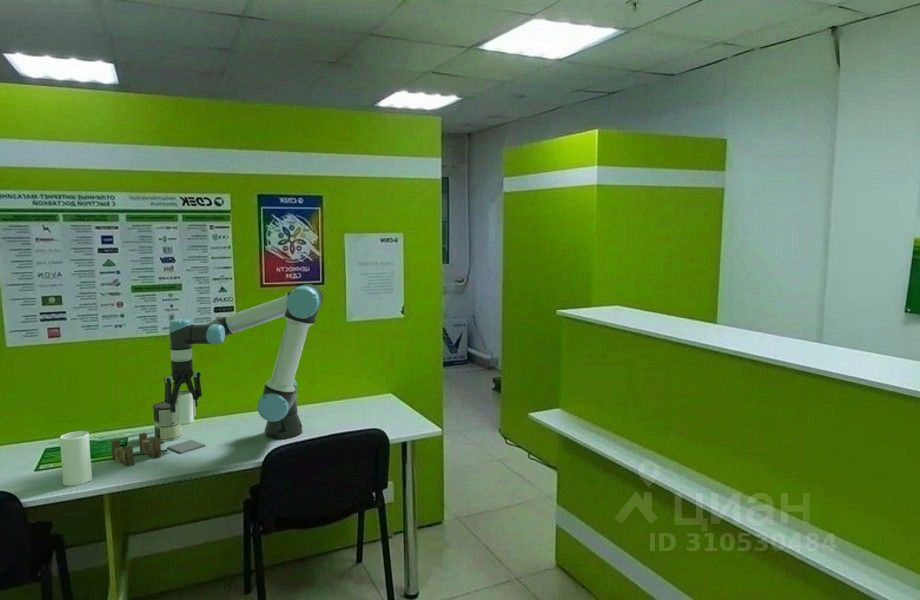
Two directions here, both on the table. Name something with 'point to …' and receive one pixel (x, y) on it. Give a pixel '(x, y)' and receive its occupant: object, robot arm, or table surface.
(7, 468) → the table surface
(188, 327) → the robot arm
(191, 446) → the pad
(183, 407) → the can
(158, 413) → the coffee can
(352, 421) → the table surface
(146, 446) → the brown cradle stand
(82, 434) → the cup
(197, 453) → the table surface
